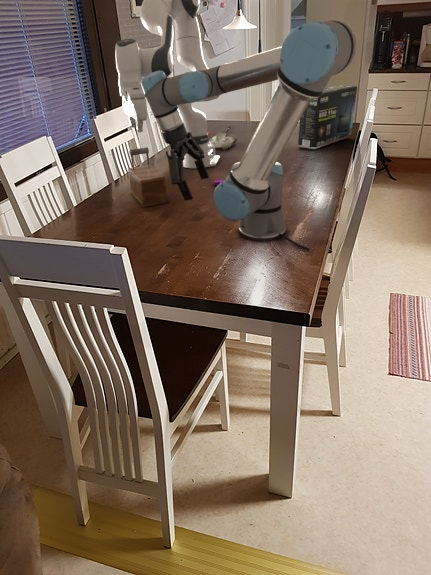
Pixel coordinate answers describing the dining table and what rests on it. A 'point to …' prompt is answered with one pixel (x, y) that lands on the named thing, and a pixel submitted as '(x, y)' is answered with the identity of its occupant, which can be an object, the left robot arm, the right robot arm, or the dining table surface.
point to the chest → (148, 191)
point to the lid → (144, 168)
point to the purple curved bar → (218, 182)
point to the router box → (328, 116)
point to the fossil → (223, 140)
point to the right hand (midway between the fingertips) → (197, 188)
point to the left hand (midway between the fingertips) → (136, 129)
